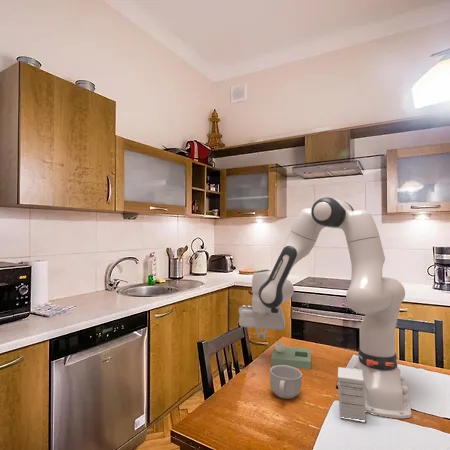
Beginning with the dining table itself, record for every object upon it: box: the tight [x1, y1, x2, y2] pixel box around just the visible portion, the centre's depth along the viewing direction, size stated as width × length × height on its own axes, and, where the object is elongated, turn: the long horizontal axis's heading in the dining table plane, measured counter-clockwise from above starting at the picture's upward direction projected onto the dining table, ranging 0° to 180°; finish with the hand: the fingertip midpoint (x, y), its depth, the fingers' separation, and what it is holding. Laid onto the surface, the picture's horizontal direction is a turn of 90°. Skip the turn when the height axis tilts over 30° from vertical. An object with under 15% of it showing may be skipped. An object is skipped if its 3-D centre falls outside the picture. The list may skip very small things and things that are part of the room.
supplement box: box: [337, 366, 367, 422], centre depth 98 cm, size 7×7×13 cm
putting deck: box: [270, 345, 312, 370], centre depth 138 cm, size 14×16×3 cm
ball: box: [274, 342, 285, 353], centre depth 139 cm, size 4×4×4 cm
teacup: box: [269, 365, 303, 400], centre depth 109 cm, size 14×11×8 cm
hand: (261, 337), depth 141 cm, fingers closed
